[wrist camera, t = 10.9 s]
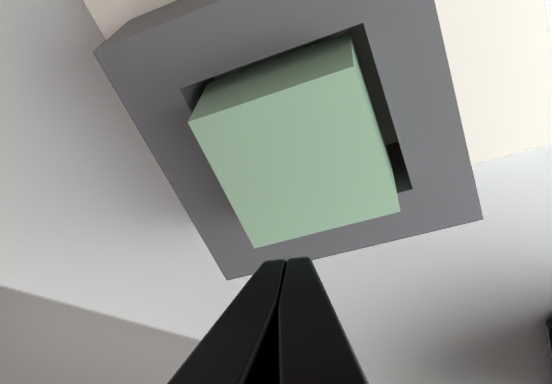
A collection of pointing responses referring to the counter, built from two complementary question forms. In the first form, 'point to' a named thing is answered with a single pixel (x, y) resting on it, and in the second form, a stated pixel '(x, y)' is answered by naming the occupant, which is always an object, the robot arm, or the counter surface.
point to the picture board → (381, 85)
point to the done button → (297, 144)
